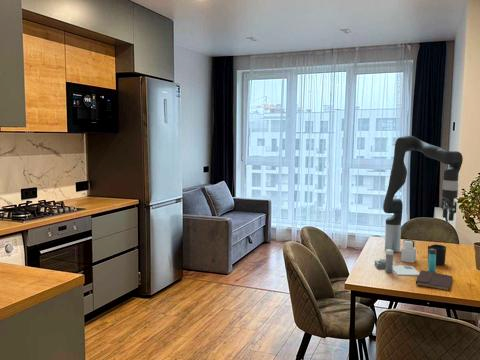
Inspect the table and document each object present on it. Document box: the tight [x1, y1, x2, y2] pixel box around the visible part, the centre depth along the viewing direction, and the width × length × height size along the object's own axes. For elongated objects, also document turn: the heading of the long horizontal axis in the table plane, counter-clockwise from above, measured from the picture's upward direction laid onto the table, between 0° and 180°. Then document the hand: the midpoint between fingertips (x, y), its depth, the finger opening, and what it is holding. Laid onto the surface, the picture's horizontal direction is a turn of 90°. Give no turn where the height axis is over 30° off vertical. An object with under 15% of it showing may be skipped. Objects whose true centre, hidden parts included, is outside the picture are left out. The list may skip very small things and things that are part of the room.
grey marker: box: [384, 249, 394, 274], centre depth 226 cm, size 4×4×12 cm
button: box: [379, 257, 386, 263], centre depth 236 cm, size 3×3×3 cm
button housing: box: [374, 260, 386, 270], centre depth 236 cm, size 7×7×2 cm
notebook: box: [415, 269, 453, 292], centre depth 210 cm, size 15×20×2 cm
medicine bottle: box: [400, 239, 417, 264], centre depth 248 cm, size 7×7×12 cm
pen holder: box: [427, 243, 447, 266], centre depth 242 cm, size 9×9×10 cm
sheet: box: [393, 265, 420, 277], centre depth 228 cm, size 16×12×1 cm
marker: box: [427, 249, 437, 273], centre depth 227 cm, size 4×4×12 cm
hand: (447, 219), depth 227 cm, fingers open, 8 cm apart
